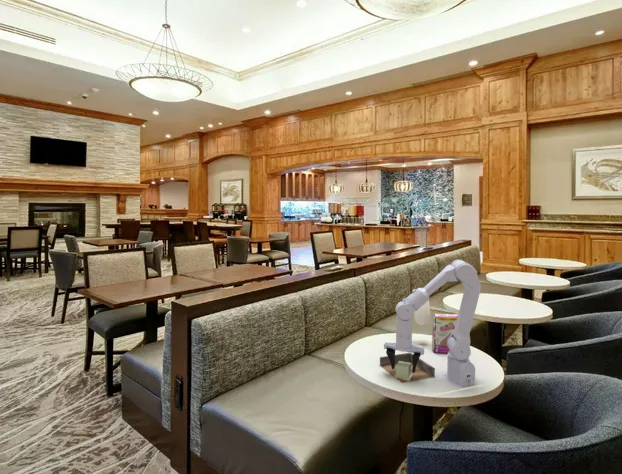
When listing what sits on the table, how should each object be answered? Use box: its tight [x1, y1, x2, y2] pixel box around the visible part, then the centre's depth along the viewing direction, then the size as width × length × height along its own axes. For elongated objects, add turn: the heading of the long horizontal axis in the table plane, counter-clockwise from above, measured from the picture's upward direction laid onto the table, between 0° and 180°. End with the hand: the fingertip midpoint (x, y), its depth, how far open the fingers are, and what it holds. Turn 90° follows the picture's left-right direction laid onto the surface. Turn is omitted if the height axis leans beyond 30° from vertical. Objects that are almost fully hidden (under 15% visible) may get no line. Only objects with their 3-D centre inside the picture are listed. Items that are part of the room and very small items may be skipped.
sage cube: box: [396, 361, 411, 379], centre depth 142 cm, size 4×4×4 cm
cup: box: [413, 300, 431, 327], centre depth 174 cm, size 7×7×21 cm
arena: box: [379, 352, 436, 384], centre depth 146 cm, size 16×14×4 cm
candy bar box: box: [431, 313, 459, 354], centre depth 166 cm, size 11×5×16 cm, turn 84°
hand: (403, 370), depth 142 cm, fingers open, 7 cm apart
